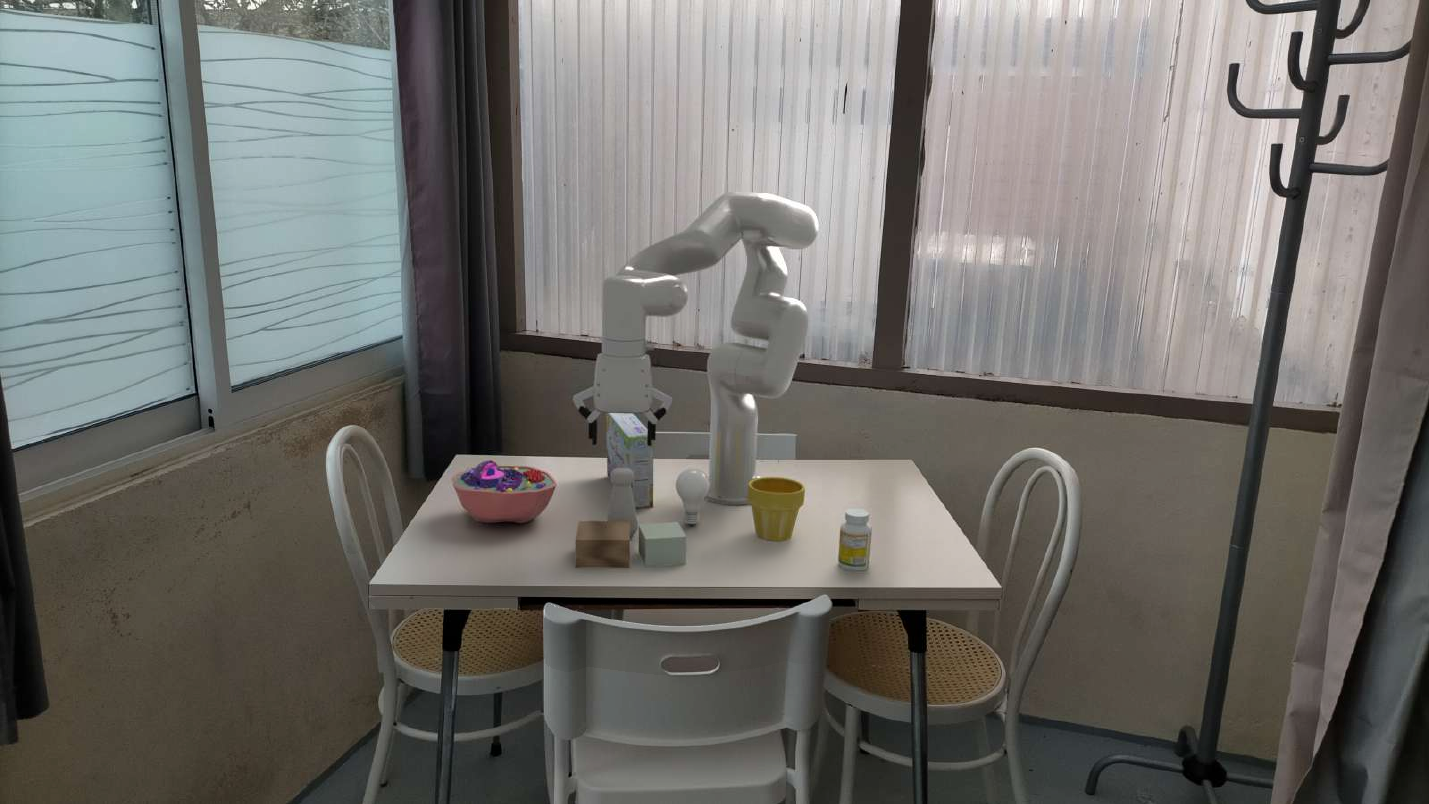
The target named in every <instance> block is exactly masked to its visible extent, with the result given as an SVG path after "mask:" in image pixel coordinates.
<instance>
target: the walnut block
mask: <svg viewBox="0 0 1429 804" xmlns="http://www.w3.org/2000/svg"><path fill="white" fill-rule="evenodd" d="M577 524H578V525H577V530H576V536H575V569H629V568H630V566H631V565H630V563H631V559H630V558H631V541H630V521H607V520H578V522H577Z"/></svg>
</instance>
